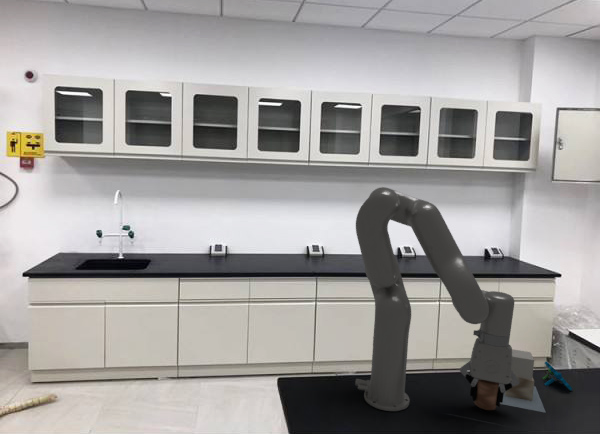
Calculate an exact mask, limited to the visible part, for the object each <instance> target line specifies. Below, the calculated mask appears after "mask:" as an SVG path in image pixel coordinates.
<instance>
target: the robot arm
mask: <svg viewBox="0 0 600 434" xmlns="http://www.w3.org/2000/svg"><path fill="white" fill-rule="evenodd" d="M357 212H358V213H357V214H356V218H355V219H356V220H355V234H356V238H357V242H358V245H359V250H360V254H361V257H362V260H363V265H364V271H365V275H366V277H367V279H368V281H369V285H370V288H371V291H372V294H373V299H374V326H373V336H372V355H371V356H372V358H371V372H370V373H371V374H370V379H366V380H364V379H361V378H355V384H354V385H355V386H356V387H357V390H360V391H364V394H363V398H364V400H365V402H366V403H367V404H368V405H369V406H371V407H373V408H375V409H378V410H382V411H385V412H400V411H403V410H405V409H407V408H408V407H409V406H410V400H411V399H410V397H409V395H408V394H407V393H406V392H405V391H406V390H405V389H406V378H407V363H408V361H407V360H408V350H409V349H408V348H409V347H408V346H409V336H410V334H409V333H410V328H411V321H412V307H411V303H410V302H411V301H410V300H409V297H408V295H407V291H406V287H405V285H404V281H403V278H402V277H403V276H402V273H401V270H400V266H399V261H398V259H397V256H396V255H395V252H394V250H393V246H392V243H391V238H390V235H389V229H388V228H389V227H388V226H389V222H390V221H392V222H396V223H399V224H401V225H405V226H407V227H410V228H411V229H412V232H413V233H414V235H415V237H416V239H417V241H418V242H419V243H418V244H419V245H420V247H421V249H422V250H423V252H424V255H425V257H426V259H427V260H428V263H429V264H430V266H431V268H432V269H433V271H434V272H435V273H436V275H437V276H438V277H439V279H440V280H441V282H442V284H443V285H444V287H445V289H446V291H447V292H448V294H449V297H450V298H451V303H452V305H453V307H454V309H455V310H456V312H457V313H458V315H459V316H460V318H461V319H462V320H463V321H464V322H466V323H469V324H471V325H479V324H480V325H479V326H480V327H479V329H477V330H473V336H475V337H477V338H476V339H475V341H474V343H473V348H472V351H471V355H470V356H471V357H470V359H469V361H467V362H466V363H465V364H463V365H462V366H461V367H460V368H459V372H460V373H461V374H462V375H463V377H465V379H466V380H467V382H468V383H469V384H470V389H469V390H470V392H469V396H470V397H471V398H472V401H473V402H474V401H476V393H477V382H478V380H479V379H480V380H485V381H490V382H495V383H499V389H498V396H497V403H496V407H498V408H500V406H501V404H500V403H502V402H503V395H504V393H505V392H506V391H507V390H509V389H510V388H512V387H513V386H515V385H517V384H519V380H518V378H517V377H516V375H515V374H514V373H513V371H512V349H513V348H512V346H511V344H510V337H511V332H512V330H511V329H512V325H513V324H512V323H513V316H514V309H515V298H514V297H513V296H512V295H511V294H509V293H505V292H503V291H495V290H494V291H493V290H492V291H491V290H490V291H487V290H483V289H481V287H480V286H479V282H478V281H477V280H476V278H475V276H474V274H473V272H472V271H471V268H470V267H469V265H468V263H467V261H466V259H465V257H464V255H463V253H462V251H461V250H460V247H459V246H458V244H457V242H456V240H455V238H454V236H453V234H452V232H451V230H450V229H449V227H448V225H447V222H446V221H445V219H444V217H443V216H442V213H441V211H440V210H439V208H438V207H437V206H436V204H433V203H431V202H429V201H427V200H424V199H420V198H417V197H414V196H410V195H408V194H405V193H403V192H400V191H397V190H394V189H392V188H389V187H386V186H385V187H383V186H381V187H377V188H375V189H374V190H373V191H372V192H371V193H370V194H369V196H368V198H367V199H366V200H365V201H364V202H363V203H362V205H361V206H360V207H359V210H358V211H357ZM468 371H469V372H468ZM511 379H512V380H511ZM510 380H511V381H510Z"/></svg>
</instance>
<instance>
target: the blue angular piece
mask: <svg viewBox="0 0 600 434" xmlns="http://www.w3.org/2000/svg"><path fill="white" fill-rule="evenodd" d="M544 365H545V366H546V367H547V368H548V369H547V370H548V371H547V372H546V375H544V376H543V377H542V379H543V380H546V379H548V378H549V377H550V379H549V380H548V381H545V383H544V385H545V386H550V385H551V384H553V383H554V382H557V381H560V382H561V383H562V384H563V385H564V386H565V387H566V388H567V389H568V390H569V391H572V390H573V388H572V386H571V385H570V384H569V383H568V382H567V380H566V379H565V378H564V377H563V374H562V373H561V372H558V371H557V370H556V369H555V367H553V366H552V365H551V364H550V363H549V362H548V361H545V362H544Z"/></svg>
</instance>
